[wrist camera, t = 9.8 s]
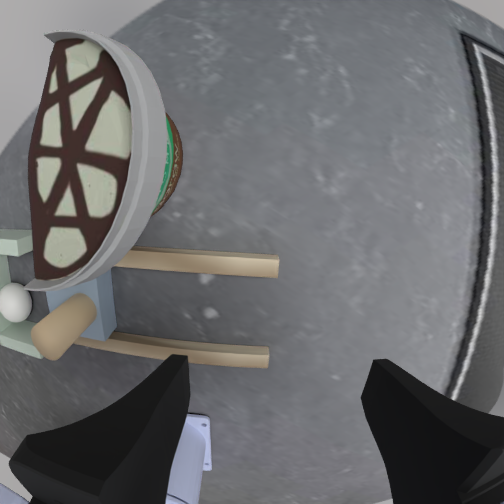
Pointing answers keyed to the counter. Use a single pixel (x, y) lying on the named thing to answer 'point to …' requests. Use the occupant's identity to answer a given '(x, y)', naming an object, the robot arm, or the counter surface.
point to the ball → (15, 302)
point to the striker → (76, 316)
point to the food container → (96, 159)
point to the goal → (14, 245)
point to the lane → (197, 264)
